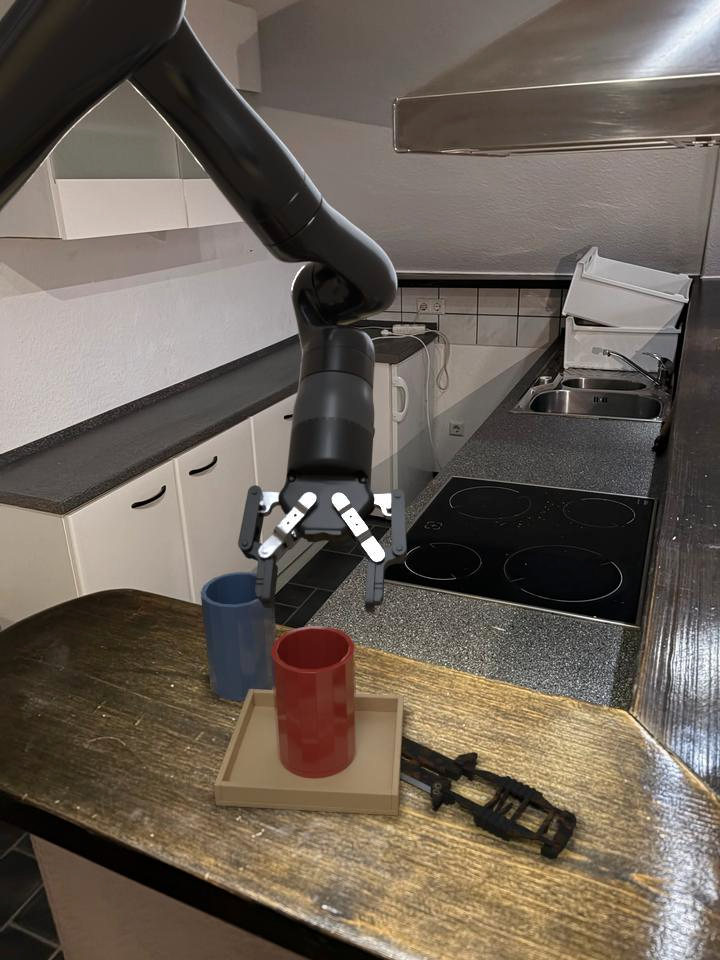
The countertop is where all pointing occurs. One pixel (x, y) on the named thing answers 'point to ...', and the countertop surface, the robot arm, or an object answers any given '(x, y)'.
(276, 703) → the red spoon cup
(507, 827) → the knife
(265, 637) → the blue spoon cup
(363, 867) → the countertop surface
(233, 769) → the tray
